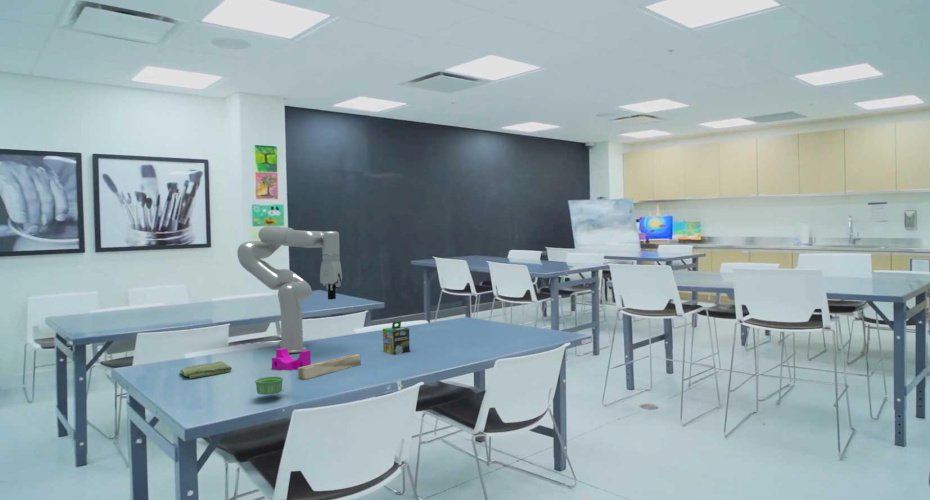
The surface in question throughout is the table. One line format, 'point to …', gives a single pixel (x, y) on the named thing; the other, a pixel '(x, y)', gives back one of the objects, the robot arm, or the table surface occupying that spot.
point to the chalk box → (396, 339)
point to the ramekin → (269, 385)
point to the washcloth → (206, 369)
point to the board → (328, 366)
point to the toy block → (290, 360)
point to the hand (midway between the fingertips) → (331, 299)
